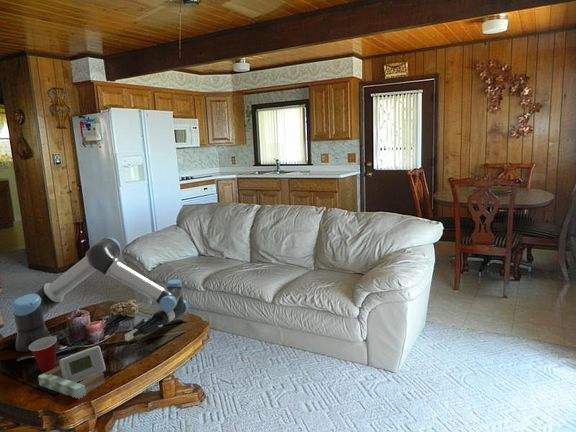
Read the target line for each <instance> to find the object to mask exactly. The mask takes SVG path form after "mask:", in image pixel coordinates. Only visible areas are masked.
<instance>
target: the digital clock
mask: <svg viewBox="0 0 576 432" xmlns="http://www.w3.org/2000/svg"><path fill="white" fill-rule="evenodd" d="M58 364H59V365H60V368H61V372H62V375H63V377H62V378H64V379H67V380H70V381H73V382H76V383H77V382H78V383H80V382H79V381H81V382H82V380H85V379H87V378H88V377H90V376H92V375H93V374H95V373H97V372H102V373H104V372H106V370H107V369H106V364H105V360H104V356H103V353H102V349H101V347H100V345H95V346H93V347H90V348H89V347H88V348H85V349H82V350H80V351H77V352H75V353H72V354H70V355H68V356H66V357H63V358H61V359H59V361H58Z"/></svg>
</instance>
